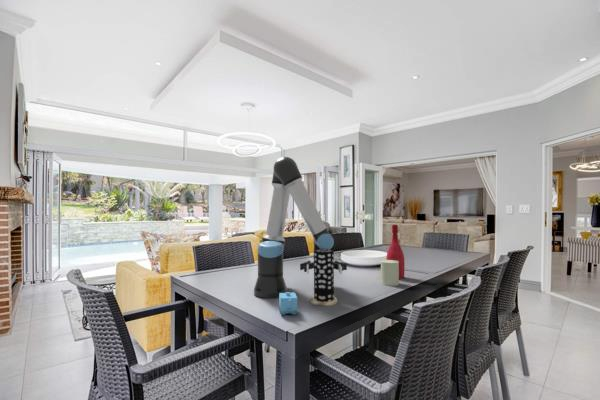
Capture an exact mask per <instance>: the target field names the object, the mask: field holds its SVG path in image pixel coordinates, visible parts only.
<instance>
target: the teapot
mask: <svg viewBox="0 0 600 400" xmlns="http://www.w3.org/2000/svg"><path fill="white" fill-rule="evenodd" d="M278 303H279V306H278V307H279V312H280V314H281V315H282V316H285V315H286V314H287V315H288V314H291V315H294V316H295V315H296V314H298V296H297V294H296V292H290V291H287V292H286V293H279V297H278Z"/></svg>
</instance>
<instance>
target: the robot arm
mask: <svg viewBox="0 0 600 400" xmlns="http://www.w3.org/2000/svg"><path fill="white" fill-rule="evenodd" d="M271 179H272V180H271V185H272V188H273V191H272V197H271V203H270V208H269V209H270V210H269V214H268V221H267V226H266V227H267V228H266V233H265V235H263V236H262V237H261V242H259V244H258V245H257V278H256V282H255V284H254V285H255V286H254V287H253V295H254V296H256V297H258V298H263V299H275V298H279V293H286V292H288V288H287V285H286V282H285V281H286V280H285V278H284V248H285V243H286V239H285V237H284V231H285V225H286V219H287V212H288V207H289V203H290V202H289V201H290V197H292V200H293V202H294V203H295V205H296V207H297V209H298V210H299V212H300V215H301V216H302V218H303V221H304V222H305V224H306V225H307V227H308V229H309V231H310V234H311V235H312V237H313V251H314V250H318V249H328V250H332V247H334V244H335V243H334V242H335V239H334V238H333V236H332V235H331V234H330V232H329V228H328V227H327V226H326V225H325V222H324V220H323V219H322V217H321V215H320V213H319V211H318V209H317V207H316V205H315V204H314V201H313V200H312V198H311V196H310V194H309V193H308V192H309V191H308V190H307V189H306V187H305V185H304V183H303V176H302V174H301V172H300V170H299V167H298V165H297V163H296V161H295V160H294V159H293V158H291V157H288V156H283V157H282V156H281V157H280V158H278V159H277V160H276V161H275V162H274V165H273V173H272V178H271ZM313 260H314V257H313ZM347 267H348V264H347V263H345V262H341V261H338V260H334V270H338V272H339V274H341V275H342V274H343V271H347V269H348V268H347ZM312 269H313V270H314V261H311V260H309V259H308V260H307V261H305V262H301V263H300V264H299V270H300V271H302V270H303V271H304V273H306V274H307V275H308V274H310V273H309V272H310V271H309V270H312Z"/></svg>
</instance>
